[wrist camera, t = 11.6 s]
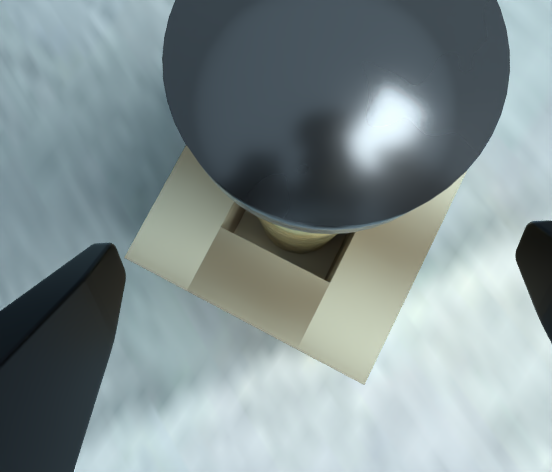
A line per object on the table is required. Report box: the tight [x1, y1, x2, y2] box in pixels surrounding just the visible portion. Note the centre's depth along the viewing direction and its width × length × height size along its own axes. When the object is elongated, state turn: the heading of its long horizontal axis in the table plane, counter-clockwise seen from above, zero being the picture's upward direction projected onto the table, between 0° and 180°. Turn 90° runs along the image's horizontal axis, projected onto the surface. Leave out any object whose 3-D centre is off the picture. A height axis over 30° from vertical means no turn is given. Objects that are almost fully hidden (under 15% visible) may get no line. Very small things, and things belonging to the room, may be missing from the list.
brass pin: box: [162, 0, 510, 254], centre depth 12 cm, size 5×5×13 cm
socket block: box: [124, 145, 467, 385], centre depth 17 cm, size 10×10×4 cm
